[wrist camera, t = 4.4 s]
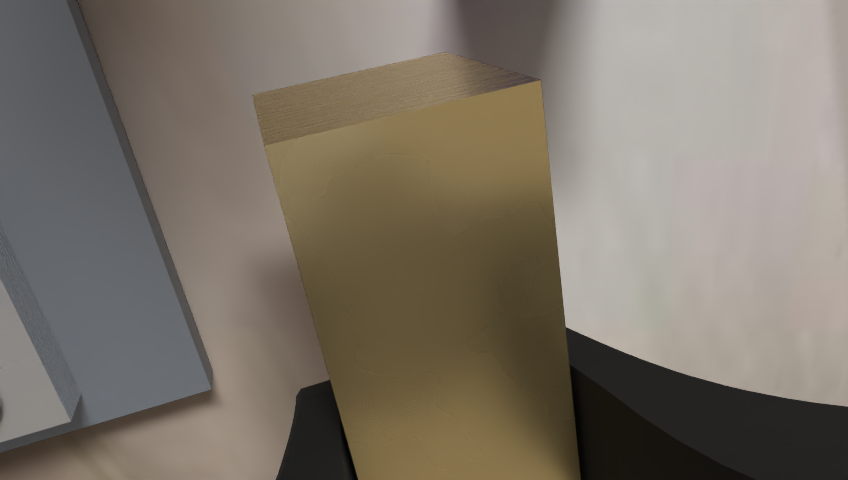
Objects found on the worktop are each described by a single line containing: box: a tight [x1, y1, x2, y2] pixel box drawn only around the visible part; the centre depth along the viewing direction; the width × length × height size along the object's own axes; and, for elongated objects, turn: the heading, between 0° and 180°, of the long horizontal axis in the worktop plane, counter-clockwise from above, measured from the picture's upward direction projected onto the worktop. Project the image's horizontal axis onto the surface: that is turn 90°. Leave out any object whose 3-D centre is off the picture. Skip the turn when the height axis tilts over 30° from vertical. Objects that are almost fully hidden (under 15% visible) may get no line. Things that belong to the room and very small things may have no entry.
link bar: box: [252, 52, 581, 480], centre depth 12 cm, size 4×12×4 cm, turn 11°
